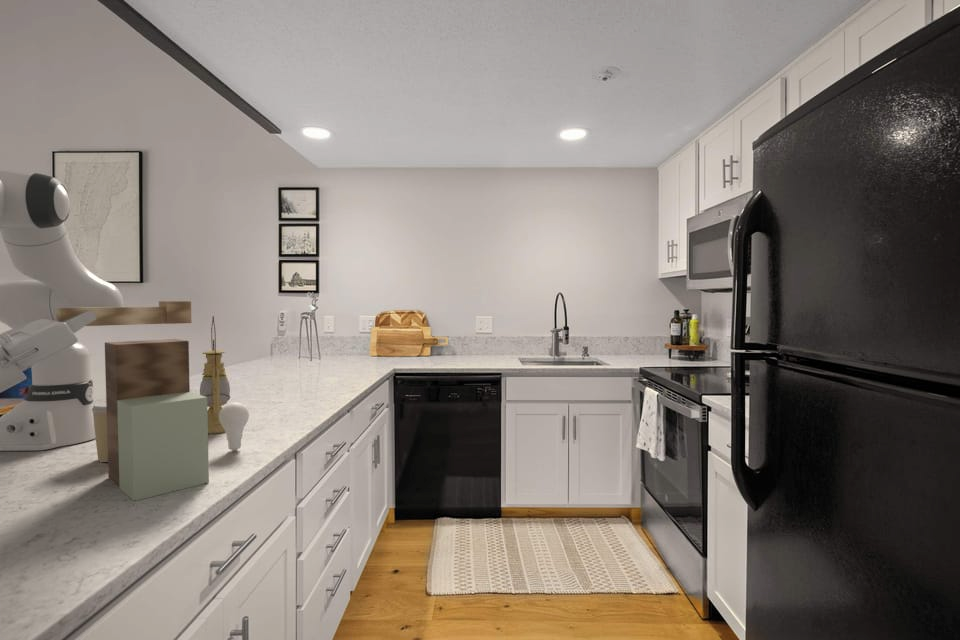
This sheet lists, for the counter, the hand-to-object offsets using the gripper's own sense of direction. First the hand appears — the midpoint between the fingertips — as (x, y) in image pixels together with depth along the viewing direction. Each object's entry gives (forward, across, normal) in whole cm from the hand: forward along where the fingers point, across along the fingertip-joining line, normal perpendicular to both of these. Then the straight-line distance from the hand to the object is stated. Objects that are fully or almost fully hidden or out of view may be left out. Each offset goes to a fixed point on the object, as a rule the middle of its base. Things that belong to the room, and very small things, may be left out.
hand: (90, 313), depth 87 cm
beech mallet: (+4, 0, +4) cm, 6 cm away
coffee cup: (-8, +26, +32) cm, 42 cm away
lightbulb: (+8, +13, +42) cm, 45 cm away
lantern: (+12, +37, +44) cm, 59 cm away
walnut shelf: (-7, +8, +33) cm, 34 cm away
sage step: (-7, 0, +33) cm, 33 cm away
